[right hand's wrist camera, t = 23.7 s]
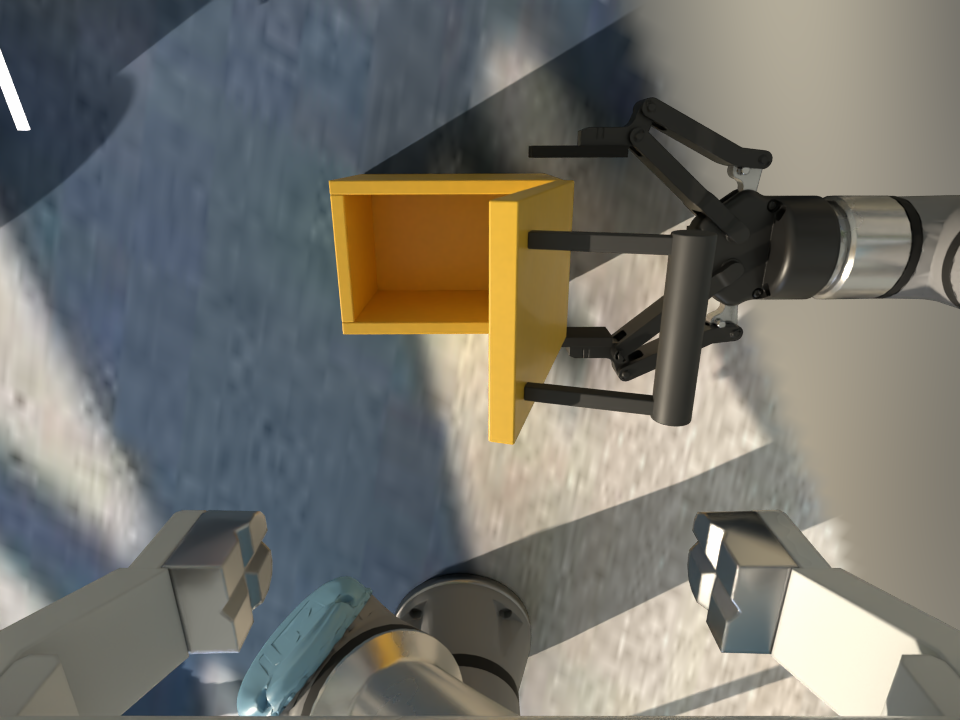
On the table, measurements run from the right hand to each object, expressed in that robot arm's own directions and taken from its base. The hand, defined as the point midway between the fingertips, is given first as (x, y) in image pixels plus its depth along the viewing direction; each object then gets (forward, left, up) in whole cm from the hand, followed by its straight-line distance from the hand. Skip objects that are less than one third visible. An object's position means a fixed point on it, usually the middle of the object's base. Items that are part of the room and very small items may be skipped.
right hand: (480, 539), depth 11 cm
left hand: (+2, +3, -33) cm, 33 cm away
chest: (-1, -2, -39) cm, 39 cm away
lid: (+1, +2, -21) cm, 21 cm away
